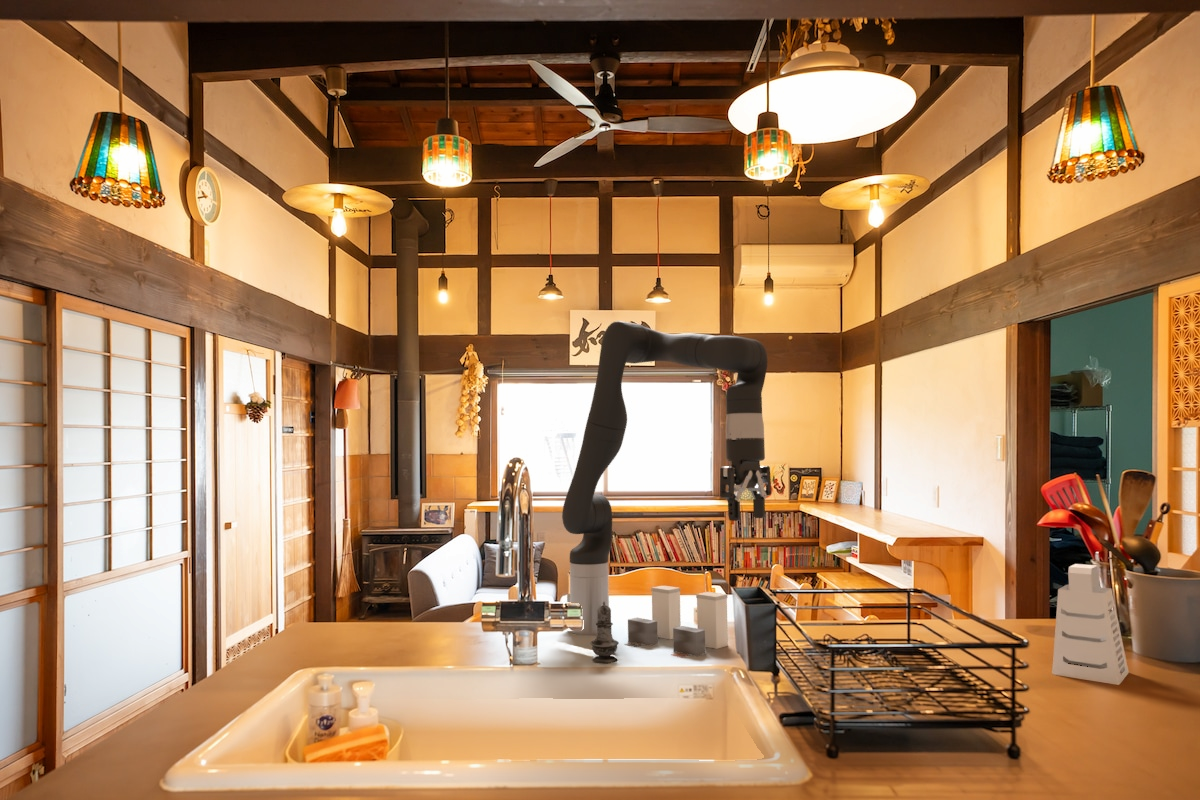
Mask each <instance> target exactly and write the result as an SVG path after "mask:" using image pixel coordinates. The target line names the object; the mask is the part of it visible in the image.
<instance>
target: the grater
mask: <svg viewBox="0 0 1200 800" xmlns="http://www.w3.org/2000/svg"><path fill="white" fill-rule="evenodd" d="M1099 569H1100V568H1099V566H1098V564H1097V565H1095V564H1083V563H1074V564H1072V565H1070V566H1068V572H1067V573H1068V584H1065V585H1064V586H1062V587H1059V588H1058V589H1057V601H1056V612H1055V613H1056V616H1055V629H1054V630H1055V631H1054V641H1053V642H1054V643H1053V653H1052V654H1053V659H1052V671H1051V674H1052V675H1054V676H1060V677H1067V678H1073V679H1078V680H1087V681H1091V682H1097V683H1099V682H1100V683H1106V684H1111V685H1118V686H1119V685H1120V684H1121V683H1122V682H1123V681H1124V679H1125V678H1126V677H1127V675H1129V673H1130V672H1129V667H1128V664H1127V663H1128V662H1127V656H1126V652H1125V648H1124V647H1125V646H1124V643H1123V639H1122V633H1121V629H1120V624H1119V619H1118V614H1117V609H1116V605H1115V600H1114V595H1113V589H1112V588H1111V587H1110V588H1109V587H1101V583H1100V570H1099ZM1068 663H1071V664H1068ZM1074 664H1078V665H1074ZM1080 665H1082V666H1080ZM1087 666H1088V667H1087Z"/></svg>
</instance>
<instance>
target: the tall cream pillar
mask: <svg viewBox="0 0 1200 800" xmlns="http://www.w3.org/2000/svg"><path fill="white" fill-rule="evenodd" d="M650 590H651V591H650V592H651V606H652V607H651V614H652V615H651V616H652V617H651V620H653V621H657V636H658V638H662V639H666V640H671V639H672V640H673V628H676V627H680V626H682V625H681V623H682V622H681V592H682V591H681V587H677V586H672V585H671V586H669V585H658V586H653V587H651V588H650Z"/></svg>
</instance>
